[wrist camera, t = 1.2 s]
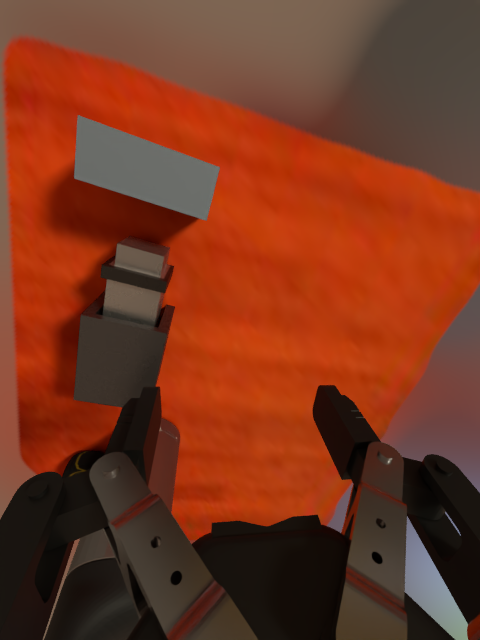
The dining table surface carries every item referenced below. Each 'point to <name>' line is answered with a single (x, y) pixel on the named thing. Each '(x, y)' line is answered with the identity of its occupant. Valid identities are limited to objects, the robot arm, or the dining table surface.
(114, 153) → the grey block
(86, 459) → the tape measure
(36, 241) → the dining table surface
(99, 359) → the sleeve
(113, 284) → the light grey square bar
